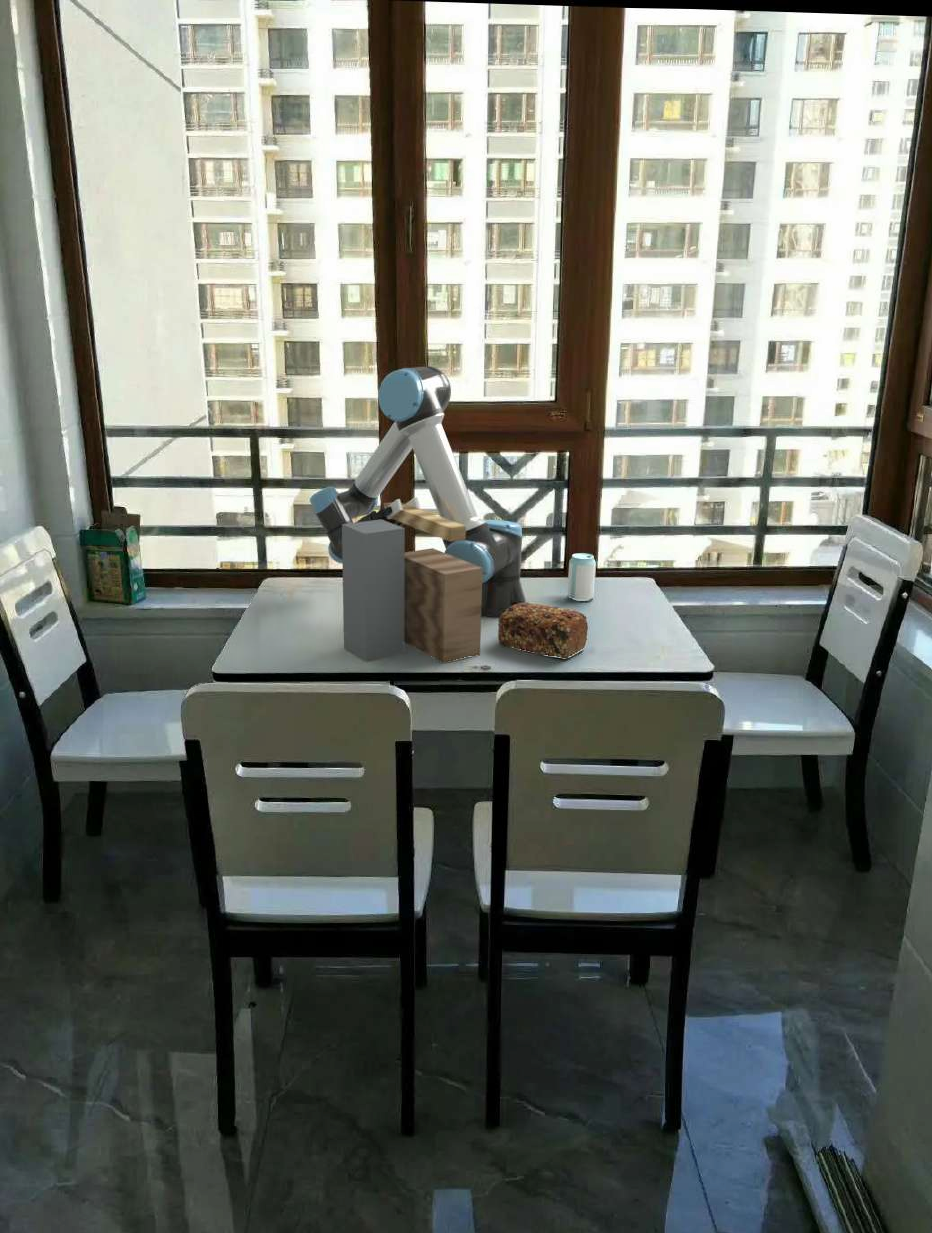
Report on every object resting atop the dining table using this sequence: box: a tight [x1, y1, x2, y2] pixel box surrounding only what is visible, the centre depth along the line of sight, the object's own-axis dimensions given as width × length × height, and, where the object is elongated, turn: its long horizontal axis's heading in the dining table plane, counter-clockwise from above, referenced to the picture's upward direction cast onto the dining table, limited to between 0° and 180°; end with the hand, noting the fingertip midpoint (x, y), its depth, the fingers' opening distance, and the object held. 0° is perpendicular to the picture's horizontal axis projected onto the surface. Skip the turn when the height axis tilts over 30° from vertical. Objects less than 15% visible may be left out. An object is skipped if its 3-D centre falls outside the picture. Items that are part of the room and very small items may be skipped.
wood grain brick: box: [404, 547, 483, 664], centre depth 228 cm, size 20×10×20 cm, turn 35°
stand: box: [341, 519, 406, 662], centre depth 223 cm, size 10×10×29 cm
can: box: [567, 552, 597, 599], centre depth 267 cm, size 7×7×12 cm
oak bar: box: [383, 501, 466, 542], centre depth 227 cm, size 28×4×3 cm, turn 35°
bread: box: [497, 602, 589, 658], centre depth 230 cm, size 19×11×10 cm, turn 55°
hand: (408, 503), depth 231 cm, fingers closed on oak bar, 4 cm apart
